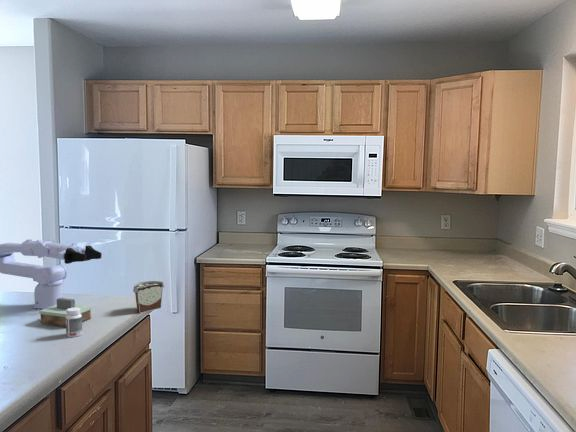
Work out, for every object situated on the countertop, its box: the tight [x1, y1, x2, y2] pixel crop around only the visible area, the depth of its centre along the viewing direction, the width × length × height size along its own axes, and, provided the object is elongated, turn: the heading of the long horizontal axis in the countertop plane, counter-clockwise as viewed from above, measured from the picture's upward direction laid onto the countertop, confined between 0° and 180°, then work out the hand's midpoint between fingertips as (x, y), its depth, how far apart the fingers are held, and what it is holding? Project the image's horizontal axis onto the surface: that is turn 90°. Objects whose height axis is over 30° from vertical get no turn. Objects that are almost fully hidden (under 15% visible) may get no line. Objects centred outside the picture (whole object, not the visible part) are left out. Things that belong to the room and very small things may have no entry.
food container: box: [132, 280, 165, 314], centre depth 181 cm, size 12×6×10 cm, turn 141°
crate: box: [40, 309, 92, 328], centre depth 165 cm, size 12×10×4 cm
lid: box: [38, 297, 93, 317], centre depth 165 cm, size 13×11×4 cm
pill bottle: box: [65, 307, 83, 338], centre depth 152 cm, size 5×5×8 cm
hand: (93, 256), depth 173 cm, fingers open, 7 cm apart
